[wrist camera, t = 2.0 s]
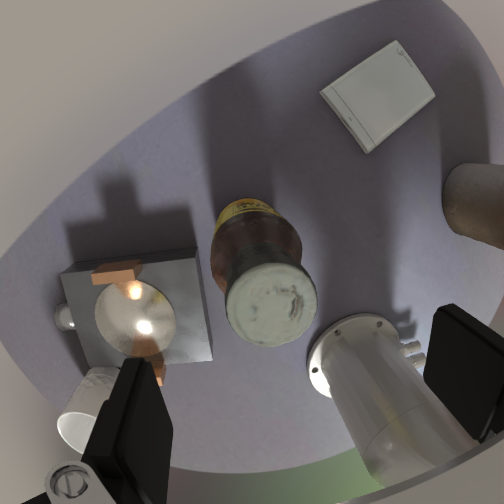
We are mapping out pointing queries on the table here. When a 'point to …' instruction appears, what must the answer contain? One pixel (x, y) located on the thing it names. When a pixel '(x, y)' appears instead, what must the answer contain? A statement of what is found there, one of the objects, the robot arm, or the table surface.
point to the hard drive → (378, 95)
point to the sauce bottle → (262, 274)
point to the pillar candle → (476, 202)
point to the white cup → (86, 406)
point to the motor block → (138, 309)
